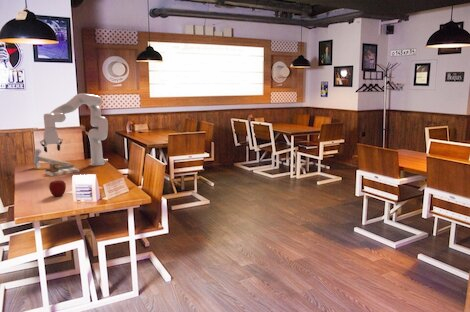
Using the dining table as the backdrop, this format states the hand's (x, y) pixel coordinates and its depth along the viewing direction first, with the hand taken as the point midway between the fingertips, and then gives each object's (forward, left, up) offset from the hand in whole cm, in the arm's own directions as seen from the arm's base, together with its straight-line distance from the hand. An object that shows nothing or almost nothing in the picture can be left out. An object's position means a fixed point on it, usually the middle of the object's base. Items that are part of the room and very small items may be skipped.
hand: (52, 151), depth 303 cm
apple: (+24, +68, -18) cm, 75 cm away
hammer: (-8, -27, -18) cm, 34 cm away
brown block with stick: (0, +3, -16) cm, 16 cm away
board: (-6, +1, -18) cm, 19 cm away
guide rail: (-6, -4, -16) cm, 18 cm away
